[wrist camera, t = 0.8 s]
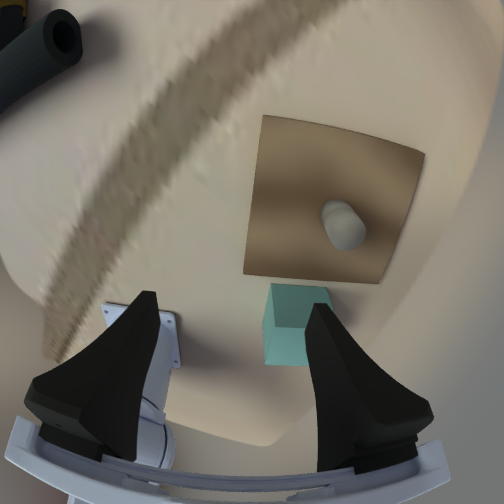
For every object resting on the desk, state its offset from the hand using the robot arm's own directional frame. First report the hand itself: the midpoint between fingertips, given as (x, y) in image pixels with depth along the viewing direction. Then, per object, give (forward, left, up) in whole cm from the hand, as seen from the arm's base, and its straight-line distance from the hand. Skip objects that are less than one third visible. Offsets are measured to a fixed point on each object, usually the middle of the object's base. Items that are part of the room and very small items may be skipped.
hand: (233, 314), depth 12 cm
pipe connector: (+15, +21, -10) cm, 28 cm away
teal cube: (-8, -6, -10) cm, 14 cm away
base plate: (+2, -7, -10) cm, 12 cm away
